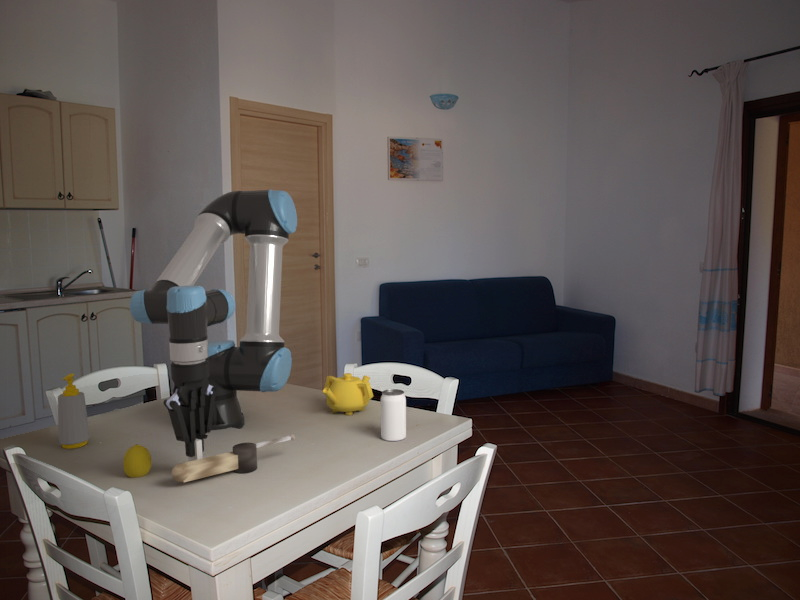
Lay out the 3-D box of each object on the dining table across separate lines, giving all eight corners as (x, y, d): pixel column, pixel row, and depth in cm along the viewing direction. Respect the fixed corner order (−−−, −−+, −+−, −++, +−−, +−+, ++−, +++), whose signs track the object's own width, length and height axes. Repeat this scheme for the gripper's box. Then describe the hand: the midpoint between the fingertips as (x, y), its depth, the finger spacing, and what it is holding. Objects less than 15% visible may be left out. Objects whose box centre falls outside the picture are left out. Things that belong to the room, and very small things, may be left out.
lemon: (130, 475, 129) (127, 440, 128) (156, 474, 129) (154, 439, 128) (120, 486, 123) (117, 449, 122) (147, 485, 124) (145, 448, 123)
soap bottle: (54, 450, 144) (48, 379, 142) (65, 441, 151) (60, 372, 149) (84, 448, 145) (79, 377, 143) (94, 439, 152) (89, 371, 150)
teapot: (347, 398, 188) (346, 363, 187) (392, 407, 177) (392, 371, 176) (302, 414, 172) (301, 376, 170) (349, 425, 161) (348, 385, 160)
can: (403, 442, 147) (403, 396, 146) (378, 441, 148) (377, 394, 147) (408, 434, 153) (408, 389, 152) (384, 432, 155) (383, 388, 153)
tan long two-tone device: (176, 491, 117) (174, 465, 116) (169, 483, 121) (167, 458, 120) (300, 459, 133) (300, 436, 132) (290, 452, 137) (290, 430, 136)
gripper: (177, 369, 115) (184, 484, 118) (226, 355, 126) (231, 461, 129) (151, 365, 118) (158, 477, 121) (200, 352, 130) (205, 455, 133)
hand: (196, 469), depth 125 cm, fingers closed
